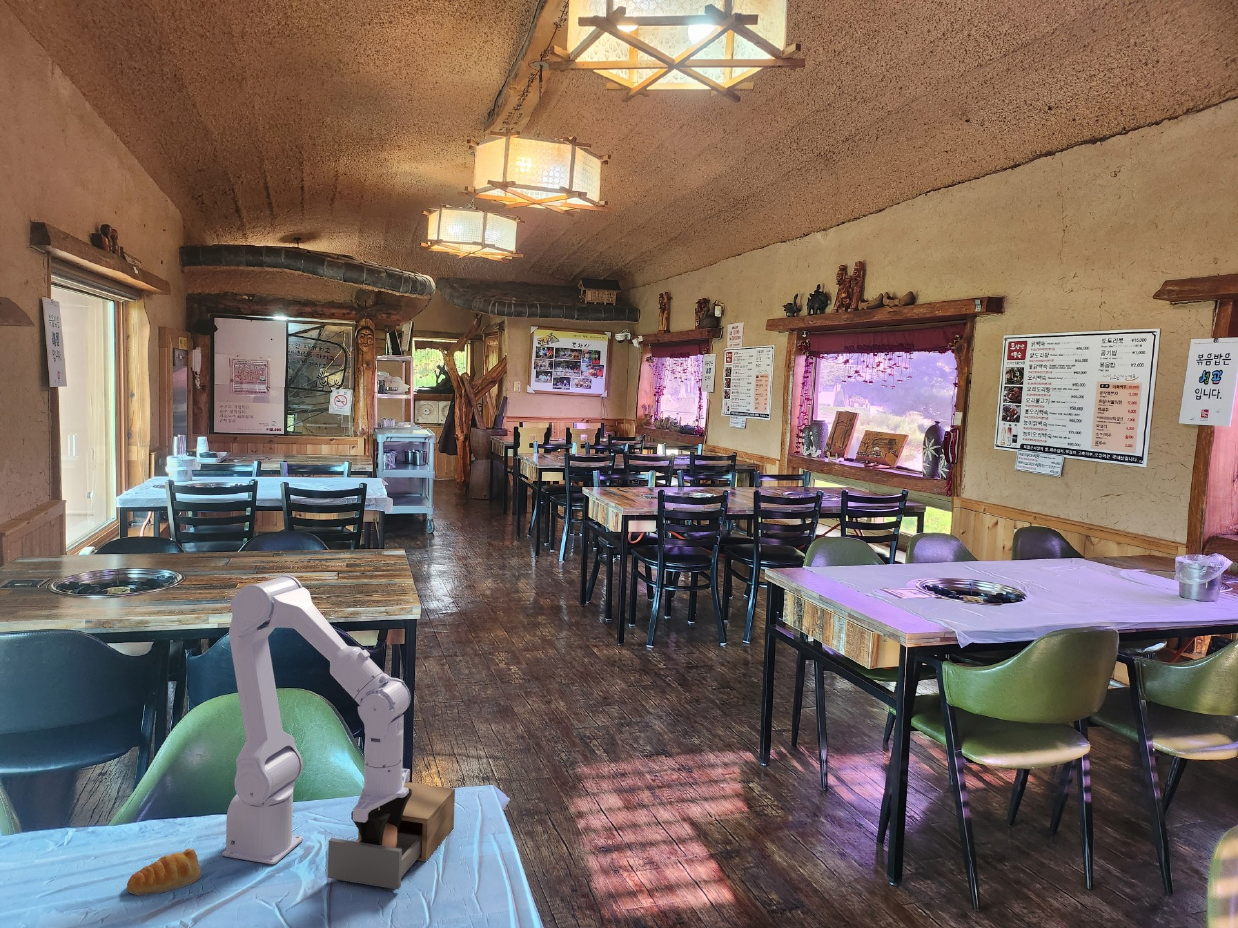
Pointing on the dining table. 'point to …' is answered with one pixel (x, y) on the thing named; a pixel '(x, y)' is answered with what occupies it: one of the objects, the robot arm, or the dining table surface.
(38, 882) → the dining table surface
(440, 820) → the housing
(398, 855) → the grey drawer
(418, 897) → the dining table surface
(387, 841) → the tan rounded cylinder
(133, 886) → the pastry
